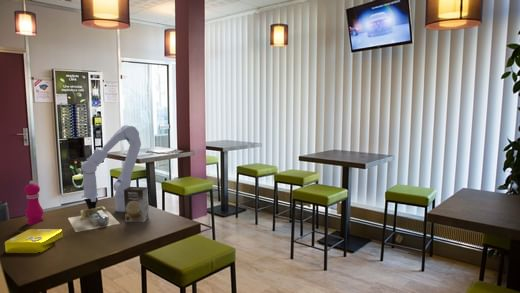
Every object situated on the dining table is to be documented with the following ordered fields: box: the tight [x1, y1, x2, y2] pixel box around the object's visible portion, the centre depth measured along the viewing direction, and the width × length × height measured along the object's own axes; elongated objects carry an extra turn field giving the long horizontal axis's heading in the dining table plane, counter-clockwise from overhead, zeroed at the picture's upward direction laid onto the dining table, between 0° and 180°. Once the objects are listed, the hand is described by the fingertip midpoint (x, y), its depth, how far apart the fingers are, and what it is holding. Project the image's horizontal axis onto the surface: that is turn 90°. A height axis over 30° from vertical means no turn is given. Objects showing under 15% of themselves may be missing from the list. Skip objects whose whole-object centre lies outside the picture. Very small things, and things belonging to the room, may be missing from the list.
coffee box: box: [124, 186, 150, 223], centre depth 169 cm, size 9×6×16 cm
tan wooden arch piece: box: [80, 206, 107, 220], centre depth 174 cm, size 10×5×4 cm, turn 125°
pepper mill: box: [24, 180, 44, 226], centre depth 170 cm, size 7×7×20 cm
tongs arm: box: [88, 211, 100, 225], centre depth 168 cm, size 2×14×4 cm, turn 36°
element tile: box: [4, 228, 64, 254], centre depth 143 cm, size 15×15×5 cm
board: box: [67, 210, 121, 233], centre depth 169 cm, size 18×24×1 cm
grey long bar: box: [97, 210, 109, 228], centre depth 168 cm, size 4×17×4 cm, turn 35°
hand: (92, 213), depth 178 cm, fingers closed
